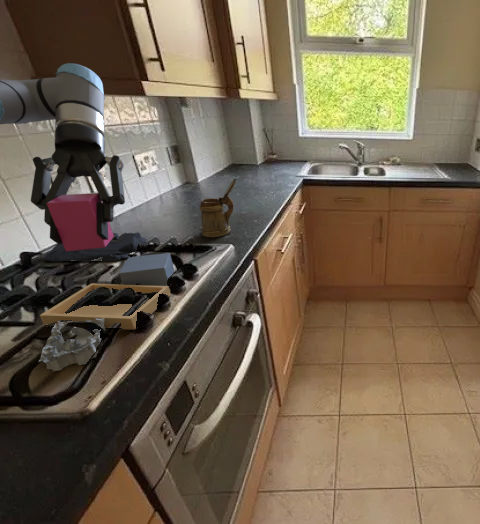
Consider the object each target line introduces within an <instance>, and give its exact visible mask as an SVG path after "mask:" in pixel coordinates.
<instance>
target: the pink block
mask: <svg viewBox="0 0 480 524" xmlns="http://www.w3.org/2000/svg"><path fill="white" fill-rule="evenodd" d="M97 202H102V203H103V201H102V200H101V199H100V196H99V194H98V192H91V193H90V192H89V193H73V194H66V195H60V196H58V197H57V198H55V199H53V200H51V201H50V202H48V203H47V206H48V208H49V211H50V213H51V216H52V218H53V221H54V223H55V225H56V228H57V230H58V233H59V235H60V238H61V240H62V243H63V245H64V248H65V250H66V251H74V250H84V249H93V248H103V247H106V246H107V244H108V243H109V242H110V241H111V239H112V238H113V237H114V235H113V233H114V232H113V229H112V227H111V222H108V240H103V239H102V238H101V237H100V236H99V235H97Z"/></svg>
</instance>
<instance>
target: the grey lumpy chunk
mask: <svg viewBox="0 0 480 524" xmlns="http://www.w3.org/2000/svg"><path fill="white" fill-rule="evenodd" d="M104 321H105V318H103V319H97V318H96V320H94V321H89V320H86V321H85V322H94V323H96V324H98V326H100V327H101V328H103V329H105V326H104ZM70 322H74V321H67V322H60V320H58V321H57V323H55V325H54V327H52V328H51V331H50V333H51V334H50V336H49V337H48V338H47V340H46V343H45V345H44V347H43V348H42V349H41V352H40V358H39V360H38V363H39V362H40V363H41V362H43V363H44V364H45V365H46V366H45V367H46V370H52V372H57V371H62V370H63V369H64V368H66V367H68V366H70V365H72V364H73V365H74V364H77V365H78V366H82V365H86V364H88V363H89V362H90V361H89V359H90V358H91V356H92V355H93V354H94V353H95V352H96V350H97V349H98V348H97V346H98V345H99V344H100V342H101V340H102V337H101V338H100V331H101V329H100V330H98V329H94V330H92V331H93V332H94V333H95V334H94V335H93V336H92V335H91V334H90V332H89V331H87V330H85V329H81V328H73V329H72V330H71V331H72V333H74V334H75V335H78V336H77V337H76V338H75V339H67V340H66V341H64V339H63V337H62V333H61V332H60V330H61V329H63V328H64V327H65V326H66V325H67V324H68V323H70ZM105 330H106V331H107V329H105ZM88 361H89V362H88ZM87 362H88V363H87Z"/></svg>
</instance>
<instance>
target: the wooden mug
mask: <svg viewBox="0 0 480 524" xmlns="http://www.w3.org/2000/svg"><path fill="white" fill-rule="evenodd" d="M237 181H238V179H237V178H234V179H232V181H231V183H230V184H229V186H228V188H227V190H226V191H225V193H224V195H223V196H220V197H218V198H215V197H213V198H212V197H211V198H204V199H201V200H200V205H199V211H200V212H201V236H203V237H206V238H217V237H222V236H223V237H224V236H226V235H228V234H229V233H230V232H231V231H232V228H231V225H230V218H231V216H232V215H233V211H234V207H235V205H234V201H233V199H232V198H230V196H229V195H230V194H231V192H232V190H233V189H234V187H235V185H236V183H237ZM225 205H226V206H227V210H226V211H225V210H224V209H225V208H226V207H225Z"/></svg>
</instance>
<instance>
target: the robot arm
mask: <svg viewBox="0 0 480 524" xmlns="http://www.w3.org/2000/svg"><path fill="white" fill-rule="evenodd" d="M56 70H57V72H55V77H44V78H37V79H18V80H13V79H0V125H6V124H7V125H11V124H15V125H22V124H24V125H25V124H30V123H37V122H44V121H46V122H47V121H54V120H55V121H54V128H55V130H54V152H53V153H52V155H51V156H50V157H46V158H41V157H40V156H34V157H33V158H32V162H33V164H34V167H35V168H34V169H35V171H34V175H33V180H32V181H33V182H32V189H31V195H30V203H31V204H33V205H34V206H36V207H37V209H39V210H42V211H44V216H43V217H44V218H43V221H44V223H45V224H46V225H48V226H49V239H50V240H52V241H53V242H55V243H56V245H57V244H63V243H62V240H61V238H60V235H59V233H58V230H57V228H56V225H55V223H54V221H53V218H52V216H51V213H50V211H49V208H48V206H47V203H48V202H50V201H51V200H53V199H55V198H57V197H58V196H60V195H68V194H67V193H68V192H69V190H70V188H71V185H72V184H73V183H75V181H76V179H77V178H81V177H87V178H88V177H89V178H91V181H92V184H93V185H94V187H95V189H96V191H97V193H98V194H99V196H100V199H101V200H102V202H103V203H102V202H97V235H99V236H100V237H101V238H102V239H103V240H108V222H109V223H112V222H113V221H114V217H115V215H114V208H115V206H118V205H124V204H125V203H126V200H125V199H126V198H125V191H124V181H123V175H122V172H123V169H124V166H125V164H124V162H123V161H122V159H121V158H120V155H117V154H114V155H112V156H108V155H106V140H105V137H106V135H105V100H106V97H105V93H104V85H103V81H102V80H101V77H99V75H97V73H95V72H94V71H93V70H92V69H90V68H88V67H86V66H83V65H81V64H78V63H64V64H62V65H60V66H59V67H57V69H56ZM55 165H56V166H58V167H57V169H56V175H55V178H54V180H53V181H52V172H53V171H54V166H55ZM106 165H107V166H108V167H109V175H110V183H111V194H112V195H111V194H110V192H109V190H108V189H107V186H106V184H105V182H104V179H103V177H102V175H101V173H100V171H101V170H102V169H103V168H104V167H105V166H106ZM51 181H52V184H51Z"/></svg>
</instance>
